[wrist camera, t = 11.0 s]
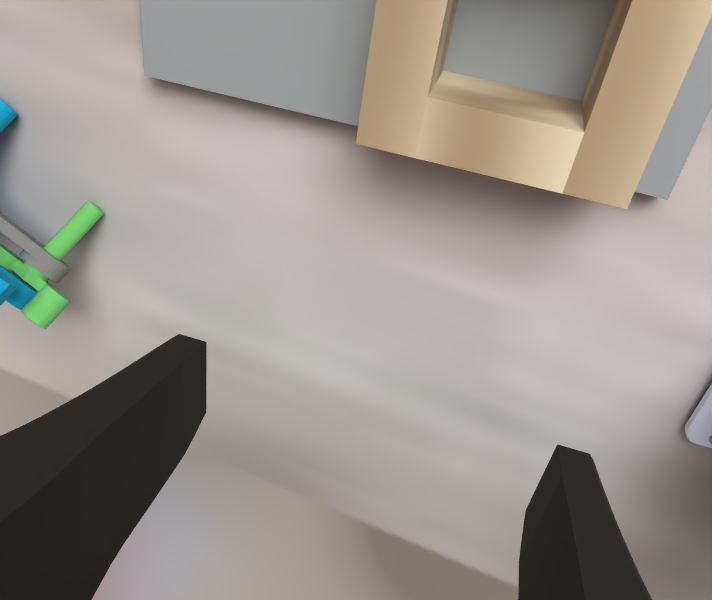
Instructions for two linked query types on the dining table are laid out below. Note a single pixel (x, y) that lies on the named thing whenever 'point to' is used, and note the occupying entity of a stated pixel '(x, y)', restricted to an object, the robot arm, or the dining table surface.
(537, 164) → the block birch
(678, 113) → the board
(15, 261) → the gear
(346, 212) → the dining table surface
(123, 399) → the robot arm
